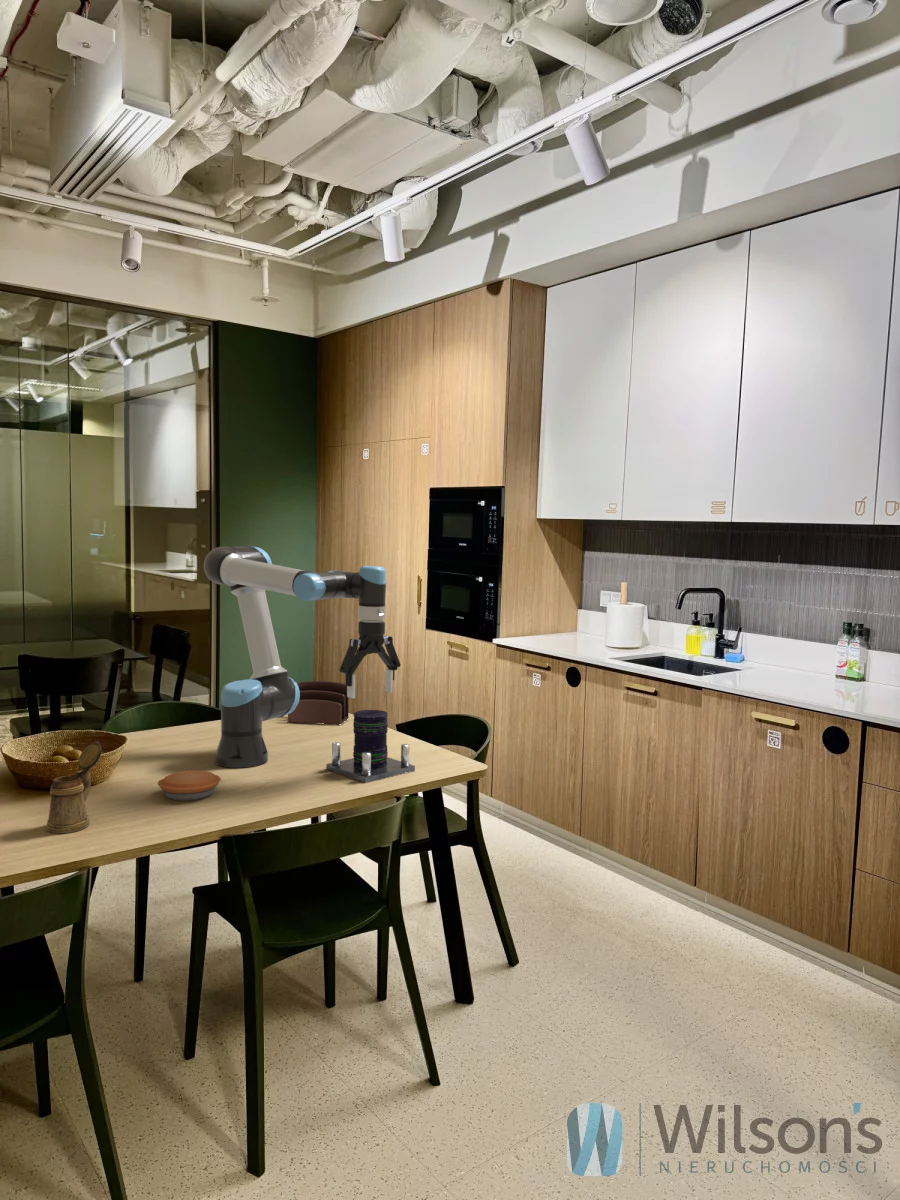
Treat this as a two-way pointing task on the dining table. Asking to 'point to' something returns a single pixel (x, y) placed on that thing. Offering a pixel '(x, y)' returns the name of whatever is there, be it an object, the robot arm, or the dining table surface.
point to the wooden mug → (72, 795)
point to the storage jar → (370, 737)
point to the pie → (189, 785)
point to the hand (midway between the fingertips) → (370, 694)
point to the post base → (375, 772)
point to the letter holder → (321, 703)
